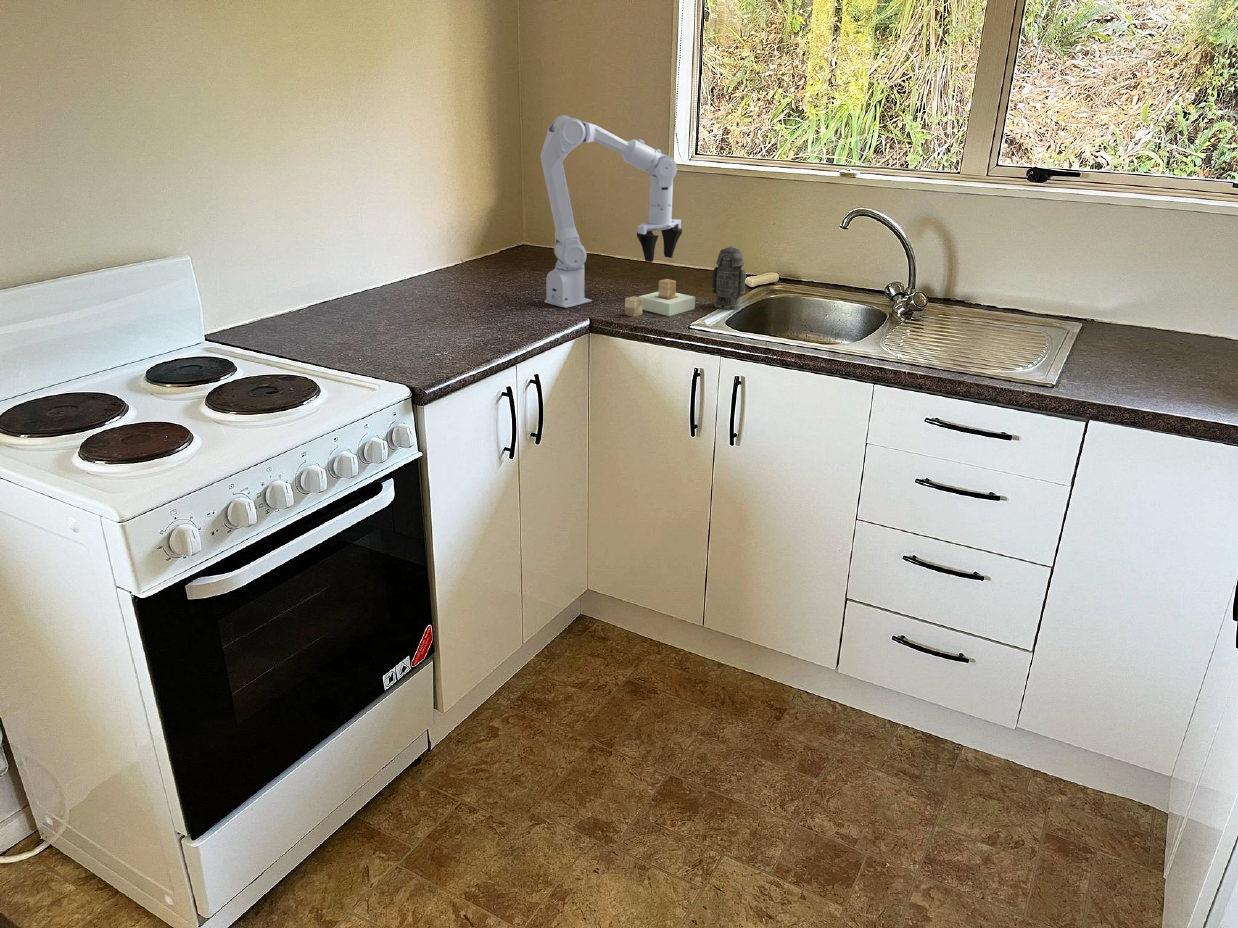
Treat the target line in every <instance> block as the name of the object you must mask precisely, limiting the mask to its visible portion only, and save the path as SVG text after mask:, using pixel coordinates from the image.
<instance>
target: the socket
mask: <svg viewBox="0 0 1238 928" xmlns="http://www.w3.org/2000/svg"><path fill="white" fill-rule="evenodd" d="M658 293H659V290H658V291H655V292H652V293H648V294H643V295H639V296H637V297H639V298H643V309H642V311H648V312H652V313H654V314H659V315H663V316H666V317H670V316H675V315H678V314H681V313H685V312H688V311H692V310H695V309H696V296H692V295H688V294H685V293H679V292H676V295H675V298H674V299H670V300H666V299H662V298H658Z"/></svg>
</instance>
